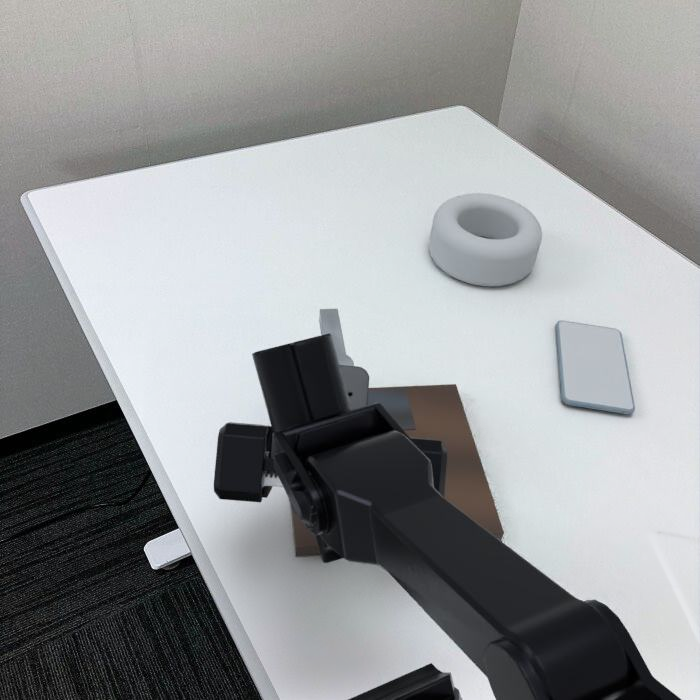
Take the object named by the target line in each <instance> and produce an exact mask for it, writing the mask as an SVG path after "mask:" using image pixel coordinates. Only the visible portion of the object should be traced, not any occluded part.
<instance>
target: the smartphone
mask: <svg viewBox="0 0 700 700" xmlns="http://www.w3.org/2000/svg"><path fill="white" fill-rule="evenodd" d="M555 335H556V346H557V359H558V370H559V372H558V373H559V382H560V383H559V384H560V395H561V401H562V402H563V403H564V404H565V405H568V406H573V407H579V408H584V409H585V408H586V409H593V410H599V411H604V412H610V413H617V414H624V415H632V414H633V413H634V412H635V410H636V405H635V400H634V395H633V389H632V384H631V378H630V373H629V367H628V361H627V357H626V356H627V355H626V351H625V344H624V339H623V333H622V332H621V330H619V329H617V328H615V327H614V328H613V327H608V326H601V325H594V324H588V323H582V322H575V321H568V320H558V321H557V322H556V323H555Z"/></svg>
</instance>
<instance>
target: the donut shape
mask: <svg viewBox="0 0 700 700" xmlns="http://www.w3.org/2000/svg"><path fill="white" fill-rule="evenodd" d="M542 239H543V231H542V227H541V224H540V222H539V220H538V218H537V217H536V216H535V215H534V213H533V212H532V211H530V210H529V209H528V208H527V207H525V206H524V205H522V204H521V203H519V202H517V201H515V200H513V199H511V198H507V197H504V196H502V195H497V194H492V193H484V192H482V193H481V192H480V193H479V192H476V193H475V192H473V193H465V194H460V195H456V196H454V197H450V198H449V199H447V200H446V201H444V202H443V203H442V204H441V205H440V206H438V208H437V209H436V211H435V212H434V215H433V218H432V224H431V229H430V235H429V241H428V250H429V254H430V257H431V258H432V260H433V261H434V263H435V264H436V265H437V267H439V268H440V269H441V270H442V271H443V272H445V273H446V274H447V275H449V276H451V277H452V278H454V279H456V280H458V281H461V282H464V283H467V284H470V285H474V286H480V287H503V286H509V285H512V284H515V283H517V282H520V281H521V280H523V279H524V278H526V277H527V276H528V275H530V273H531V272H532V270H533V268H534V267H535V265H536V260H537V257H538V254H539V250H540V248H541V244H542V241H543V240H542Z"/></svg>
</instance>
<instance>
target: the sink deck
mask: <svg viewBox="0 0 700 700" xmlns="http://www.w3.org/2000/svg"><path fill="white" fill-rule="evenodd" d="M378 402H379V403H380V404H381V405H382V406H383V407H384V408H385V409H386V411H387V412H388V413H389V414H390V415H391V416H392V418H393V419H394V420H395V421H396V422H397V423H398V425H399V426H400V427H401V428H402V429H403V430H404V431H405V433H406V434H407V435H408V436H409V437H416V438H428V439H438V440H440V441H442V443H443V444H444V445H445V446H446V447H447V468H446V481H445V494H444V498H445V499H446V500H448V501H449V502H450V503H452V504H453V505H454V506H456V507H457V508H458V509H460V510H461V511H462V512H464V513H465V514H466V515H467V516H469V517H470V518H471V519H473V520H474V521H475V522H477V523H478V524H479V525H481V526H482V527H483V528H485V529H486V530H487V531H489V532H490V533H491V534H492V535H494V536H495V537H496V538H498V539H499V540H500V541H503V540H502V539H503V537H504V535H505V534H504V533H505V531H504V528H503V525H502V522H501V518H500V516H499V513H498V509H497V506H496V504H495V500H494V497H493V494H492V491H491V487H490V485H489V482H488V479H487V475H486V473H485V470H484V466H483V464H482V461H481V457H480V454H479V450H478V448H477V445H476V441H475V439H474V435H473V432H472V430H471V426H470V423H469V420H468V417H467V413H466V411H465V408H464V404H463V401H462V398H461V395H460V392H459V389H458V385H457V384H456V383H451V384H450V383H449V384H448V383H447V384H429V385H427V384H426V385H406V386H403V385H402V386H381V387H369V390H368V405H371V404H375V403H378ZM368 405H367V406H368ZM289 505H290V514H291V515H290V516H291V524H292V525H291V526H292V537H293V546H294V547H293V548H294V549H293V550H294V556H295V557H296V558H297V557H310V556H320V552H319V548H318V545H317V541H316V537H315V535H314V534H312V532H311V531H310V530H309V529H307V528H306V526H305V523H303V522H302V521H301V520H300V519H299V517H298V516H297V514H295V511H294V510H293V508H292V506H291V503H290V502H289Z"/></svg>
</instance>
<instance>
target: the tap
mask: <svg viewBox="0 0 700 700" xmlns="http://www.w3.org/2000/svg"><path fill="white" fill-rule="evenodd" d="M318 323H319V330H320V336H321V335H325V334H329V333H330V334H331V336H332V340H333V343H334V347H335V350H336V354H337V358H338V361H339V365H346V366H355V363H354V360H353V358H352V357H350V356H349V355H348V354H347V351H346V346H345V340H344V333H343V329H342V325H341V319H340V314H339V309H338V308H320V309H319V315H318Z"/></svg>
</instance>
